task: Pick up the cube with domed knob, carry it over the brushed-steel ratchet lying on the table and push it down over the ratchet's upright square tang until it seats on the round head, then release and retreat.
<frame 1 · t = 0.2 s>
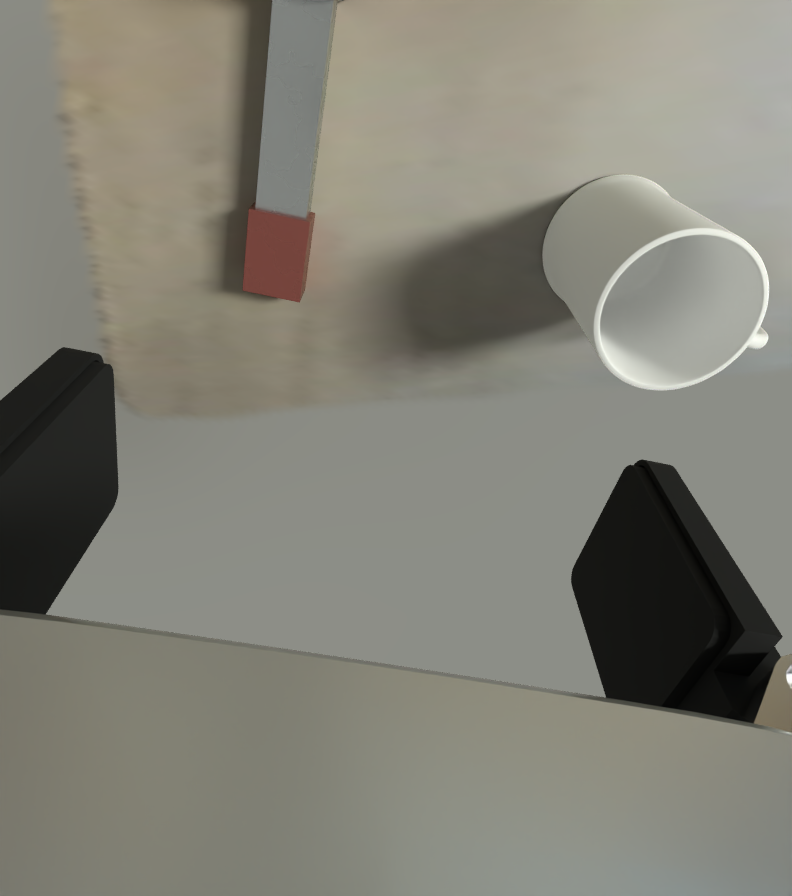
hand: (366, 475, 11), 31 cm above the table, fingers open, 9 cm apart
mug: (628, 257, 40), on the table
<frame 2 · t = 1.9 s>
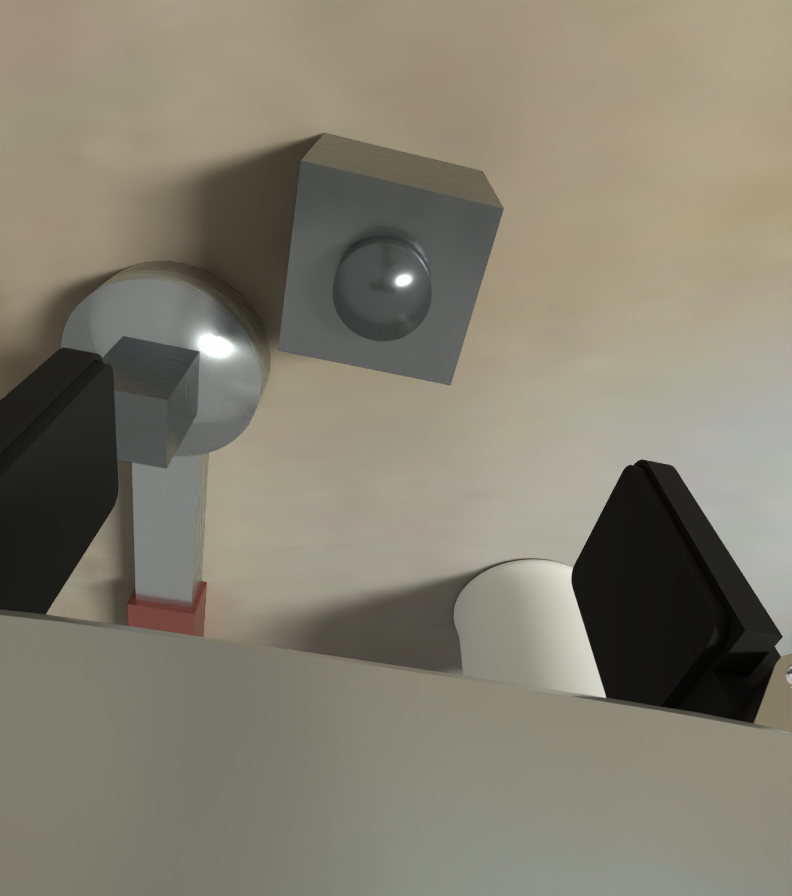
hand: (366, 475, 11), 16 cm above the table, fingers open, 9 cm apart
ratchet: (180, 350, 27), on the table
cube with domed knob: (388, 233, 24), on the table
mug: (547, 616, 37), on the table
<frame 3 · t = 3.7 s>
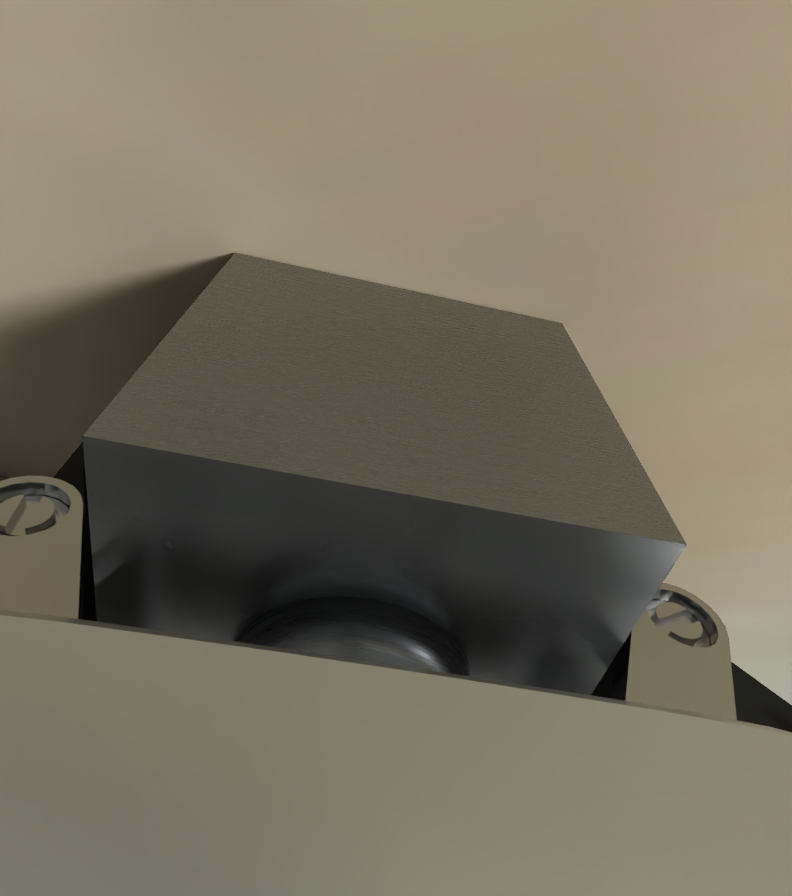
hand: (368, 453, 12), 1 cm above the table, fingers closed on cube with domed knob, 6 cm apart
cube with domed knob: (371, 428, 13), on the table, touching gripper
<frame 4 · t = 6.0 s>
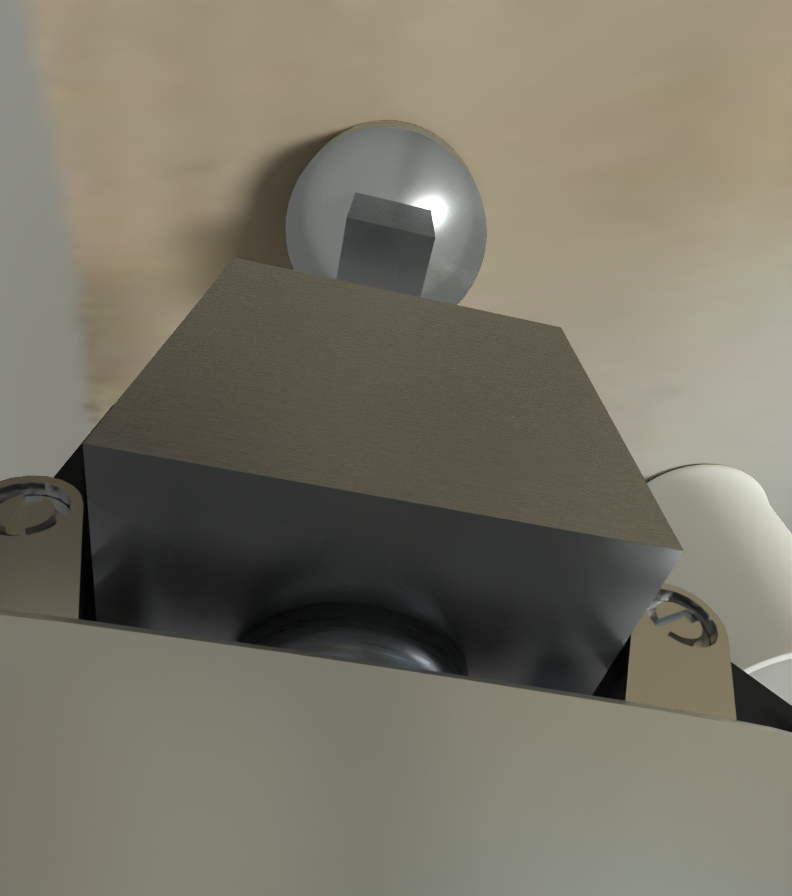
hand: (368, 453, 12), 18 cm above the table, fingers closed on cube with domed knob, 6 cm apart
ratchet: (387, 224, 26), on the table
cube with domed knob: (370, 431, 13), point 17 cm above the table, touching gripper
mug: (707, 531, 36), on the table
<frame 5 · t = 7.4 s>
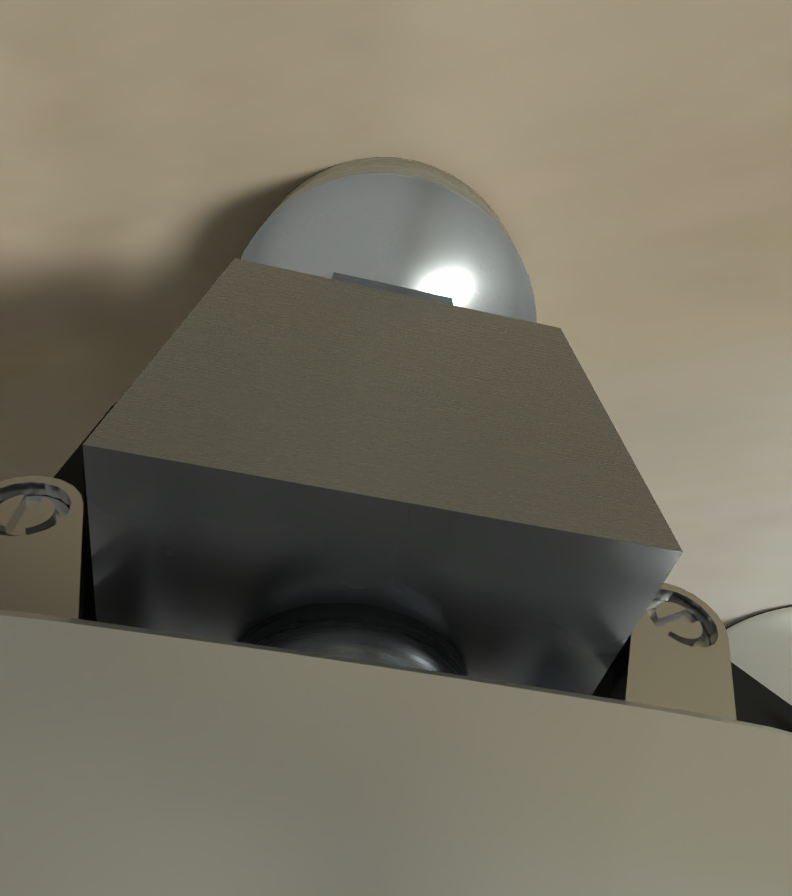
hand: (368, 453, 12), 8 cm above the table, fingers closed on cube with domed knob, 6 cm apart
ratchet: (384, 305, 18), on the table
cube with domed knob: (370, 432, 13), point 7 cm above the table, touching gripper
when the fingers open (4 cm above the table, at t = 8.4 s): cube with domed knob drops 1 cm, resting on ratchet.
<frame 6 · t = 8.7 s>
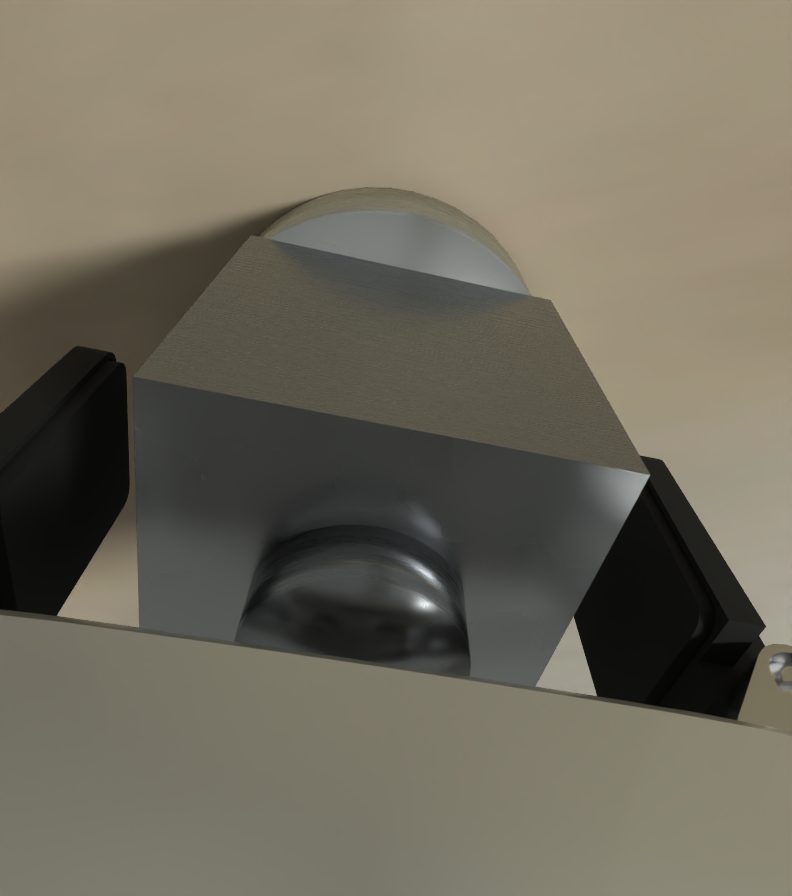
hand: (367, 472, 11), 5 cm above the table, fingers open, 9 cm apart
ratchet: (378, 354, 16), on the table, touching cube with domed knob
cube with domed knob: (375, 400, 14), point 2 cm above the table, touching ratchet
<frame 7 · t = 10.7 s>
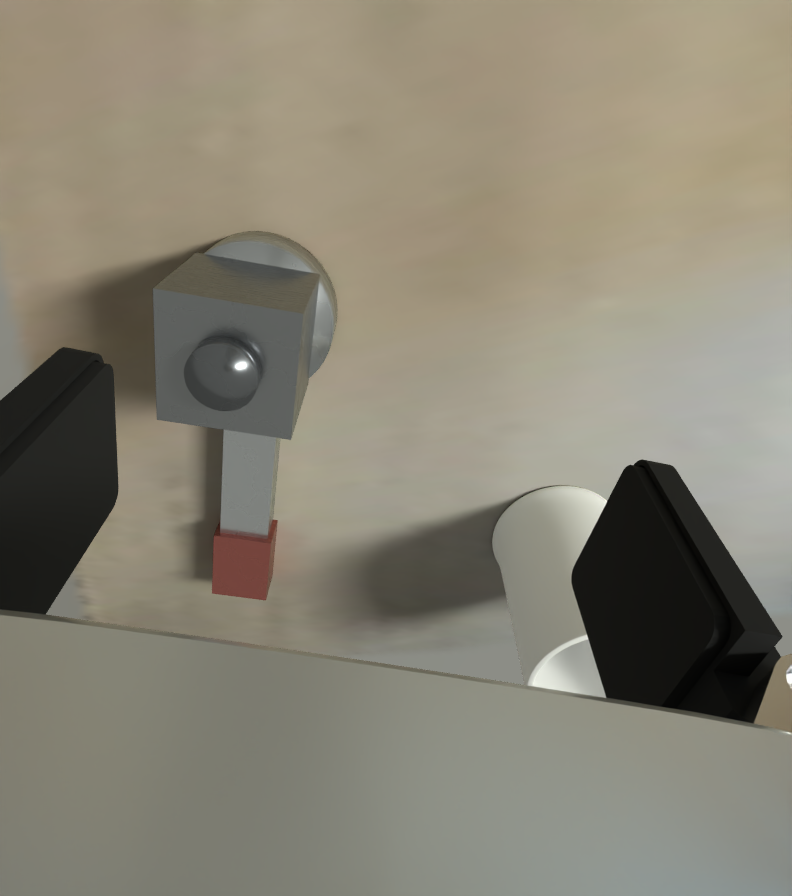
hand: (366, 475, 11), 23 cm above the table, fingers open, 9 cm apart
ratchet: (264, 307, 33), on the table, touching cube with domed knob
cube with domed knob: (255, 322, 31), point 2 cm above the table, touching ratchet
mug: (574, 543, 42), on the table
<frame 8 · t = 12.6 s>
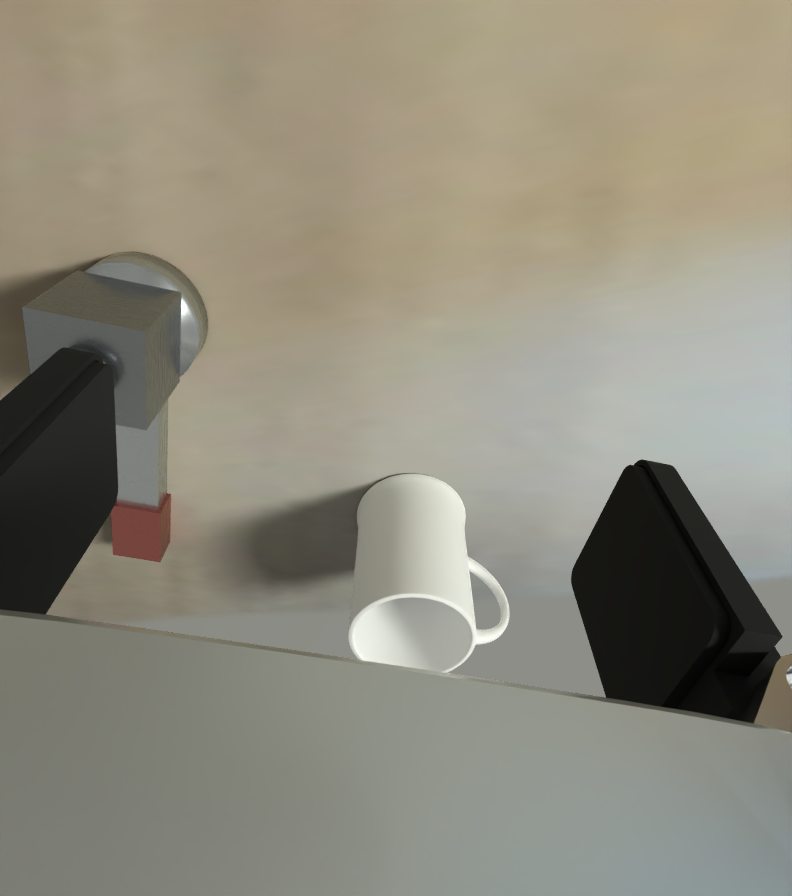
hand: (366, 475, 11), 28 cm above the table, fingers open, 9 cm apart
ratchet: (145, 314, 39), on the table, touching cube with domed knob
cube with domed knob: (130, 328, 37), point 2 cm above the table, touching ratchet
mug: (428, 522, 49), on the table
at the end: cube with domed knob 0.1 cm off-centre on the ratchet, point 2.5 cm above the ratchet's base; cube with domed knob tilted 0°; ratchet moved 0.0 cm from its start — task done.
